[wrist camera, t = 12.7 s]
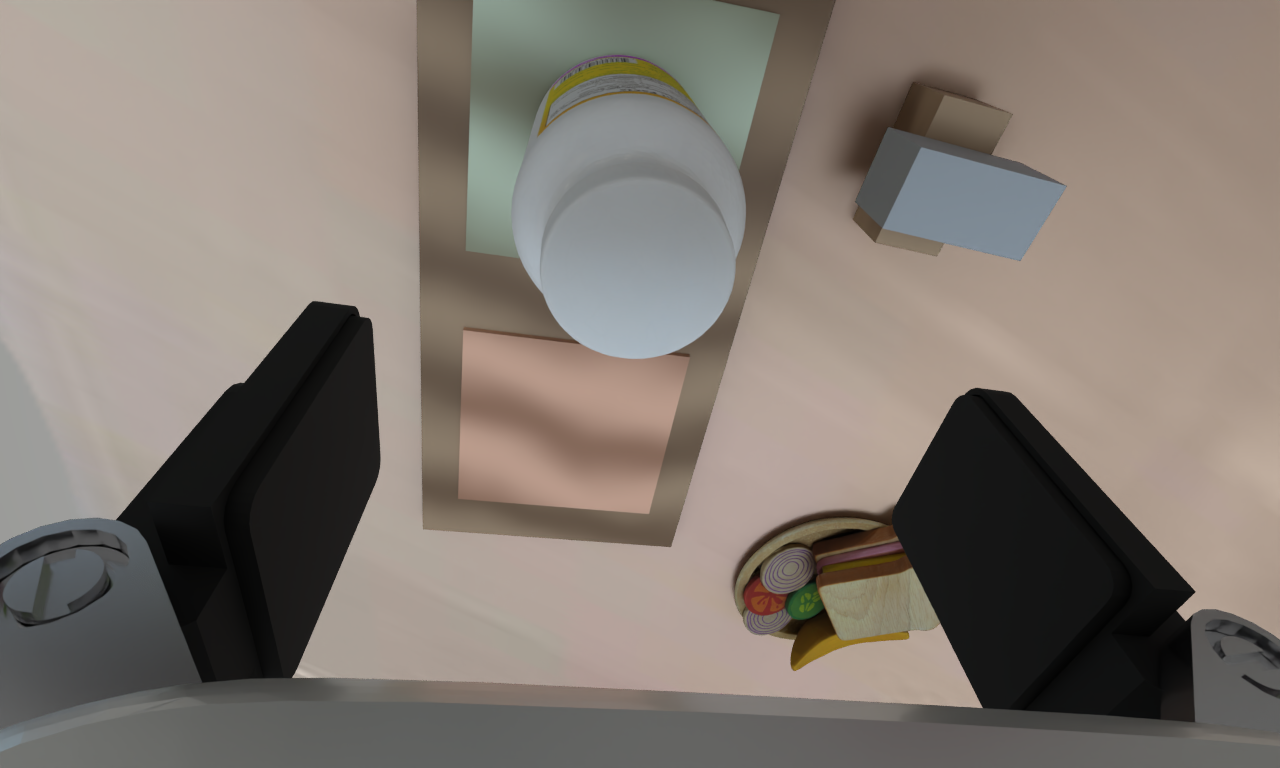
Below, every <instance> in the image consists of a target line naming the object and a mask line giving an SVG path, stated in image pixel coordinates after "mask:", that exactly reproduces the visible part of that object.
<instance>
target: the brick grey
mask: <svg viewBox="0 0 1280 768" xmlns="http://www.w3.org/2000/svg"><path fill="white" fill-rule="evenodd" d="M1066 187H1067V186H1066V185H1064V184H1062V183H1060V182H1058V181H1056V180H1054V179H1052V178H1050V177H1048V176H1046V175H1044V174H1042V173H1040V172H1038V171H1036V170H1034V169H1032V168H1030V167H1028V166H1026V165H1024V164H1022V163H1019V162H1016V161H1012V160H1008V159H1005V158H1001V157H997V156H994V155H990V154H986V153H982V152H979V151H975V150H971V149H968V148H964V147H960V146H957V145H953V144H949V143H946V142H942V141H938V140H934V139H931V138H927V137H923V136H920V135H916V134H912V133H909V132H905V131H901V130H898V129H894V128H890V127H888V128H887V131H886V133H885V135H884V137H883V140H882V142H881V144H880V146H879V149H878V151H877V153H876V155H875V158H874V160H873V162H872V164H871V167H870V169H869V171H868V173H867V176H866V178H865V180H864V183H863V185H862V187H861V189H860V192H859V194H858V196H857V198H856V201H855V202H856V203H857V204H858V205H859V206H860V207H861V208H862V209H863V210H864V211H865V212H866V213H867V214H868V215H869V216H870V217H871V218H872V219H873V220H874V221H875V222H876V223H877V224H878V225H879V226H881V227H882V228H883V229H887V230H891V231H896V232H900V233H904V234H908V235H913V236H917V237H921V238H925V239H929V240H934V241H938V242H942V243H946V244H951V245H955V246H959V247H963V248H967V249H972V250H976V251H980V252H984V253H989V254H993V255H997V256H1001V257H1005V258H1010V259H1014V260H1018V261H1021V259H1022V257H1023V256H1024V254H1025V253H1026V251H1027V249H1028V248H1029V246H1030V245H1031V243H1032V241H1033V240H1034V238H1035V237H1036V235H1037V233H1038V232H1039V230H1040V228H1041V227H1042V225H1043V224H1044V222H1045V220H1046V219H1047V217H1048V216H1049V214H1050V212H1051V211H1052V209H1053V208H1054V206H1055V204H1056V203H1057V201H1058V199H1059V198H1060V196H1061V195H1062V193H1063V191H1064V190H1065V188H1066Z"/></svg>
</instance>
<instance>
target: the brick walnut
mask: <svg viewBox="0 0 1280 768" xmlns="http://www.w3.org/2000/svg"><path fill="white" fill-rule="evenodd" d="M1012 115H1013V114H1011V113H1009V112H1006V111H1004V110H1001V109H999V108H996V107H993V106H991V105H988V104H986V103H983V102H981V101H978V100H975V99H972V98H968V97H965V96H961V95H958V94H954V93H950V92H947V91H943V90H940V89H936V88H933V87H929V86H926V85H922V84H918V83H915V82H913V84H912V86H911V88H910V90H909V93H908V95H907V97H906V100H905V102H904V104H903V106H902V109H901V111H900V113H899V115H898V118H897V120H896V122H895V125H894V127H893V128H894V129H898V130H901V131H905V132H909V133H912V134H916V135H920V136H923V137H927V138H931V139H934V140H938V141H942V142H946V143H949V144H953V145H957V146H960V147H964V148H968V149H971V150H975V151H979V152H982V153H986V154H990V155H991V154H992V152H993V150H994V149H995V147H996V145H997V143H998V141H999V139H1000V137H1001V135H1002V133H1003V132H1004V130H1005V128H1006V126H1007V124H1008V122H1009V120H1010V118H1011V117H1012ZM853 220H854V221H855V222H856V223H857V224H858V225H859V226H860V228H861V229H862V230H863V231H864V232H865V233H866V234H867V235H868V236H869V237H870V238H871V239H872V240H873V241H874V242H875V243H879V244H883V245H888V246H892V247H897V248H901V249H906V250H910V251H915V252H919V253H924V254H928V255H932V256H937V255H938V254H939V252H940V250H941V248H942V246H943V244H944V243H942V242H938V241H934V240H929V239H925V238H921V237H917V236H913V235H908V234H904V233H900V232H896V231H891V230H887V229H883V228H882V227H881V226H879V225H878V224H877V223H876V222H875V221H874V220H873V219H872V218H871V217H870V216H869V215H868V214H867V213H866V212H865V211H864V210H863V209H862V208H861V207H860V206H859V207H858V209H857V211H856V213H855V216H854V218H853Z"/></svg>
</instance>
